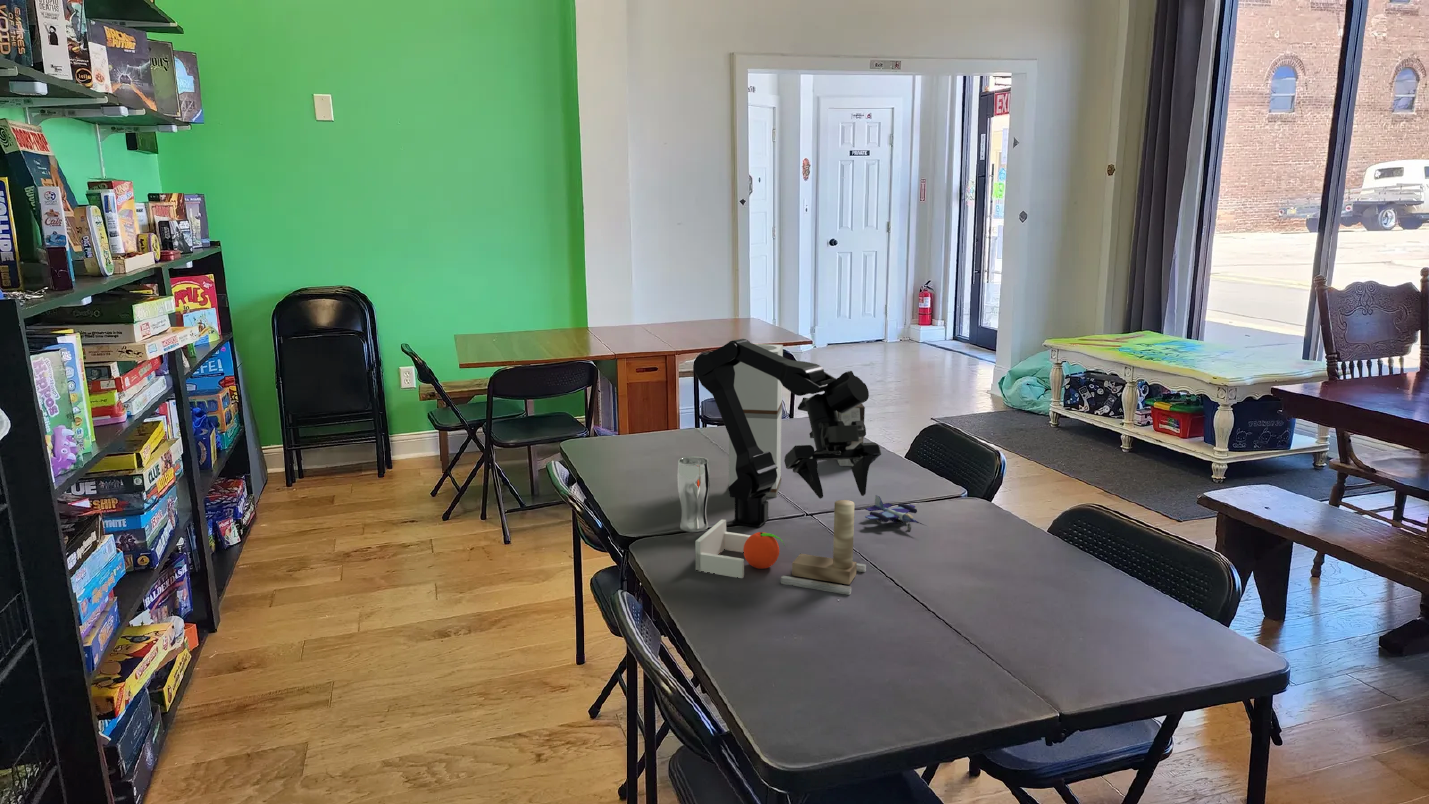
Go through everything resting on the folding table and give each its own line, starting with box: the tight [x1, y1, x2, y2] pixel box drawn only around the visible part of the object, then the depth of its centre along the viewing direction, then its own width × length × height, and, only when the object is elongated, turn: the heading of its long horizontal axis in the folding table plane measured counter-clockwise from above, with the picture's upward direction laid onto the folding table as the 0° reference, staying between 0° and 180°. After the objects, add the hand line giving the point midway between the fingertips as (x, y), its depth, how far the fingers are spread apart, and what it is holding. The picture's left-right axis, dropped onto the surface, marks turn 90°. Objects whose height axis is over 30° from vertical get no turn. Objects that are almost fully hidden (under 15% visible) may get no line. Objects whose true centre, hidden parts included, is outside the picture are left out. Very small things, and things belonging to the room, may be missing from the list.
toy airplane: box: [864, 494, 927, 532], centre depth 199 cm, size 13×14×4 cm
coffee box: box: [836, 403, 866, 467], centre depth 245 cm, size 9×6×16 cm
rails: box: [780, 562, 867, 596], centre depth 171 cm, size 13×12×1 cm
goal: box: [694, 518, 751, 579], centre depth 178 cm, size 10×13×6 cm
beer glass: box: [676, 456, 711, 533], centre depth 196 cm, size 7×7×15 cm
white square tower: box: [728, 343, 784, 498], centre depth 220 cm, size 11×11×35 cm
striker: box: [791, 499, 857, 586], centre depth 170 cm, size 11×5×15 cm, turn 67°
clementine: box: [743, 531, 786, 570], centre depth 175 cm, size 8×7×7 cm
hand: (842, 496), depth 176 cm, fingers open, 9 cm apart
